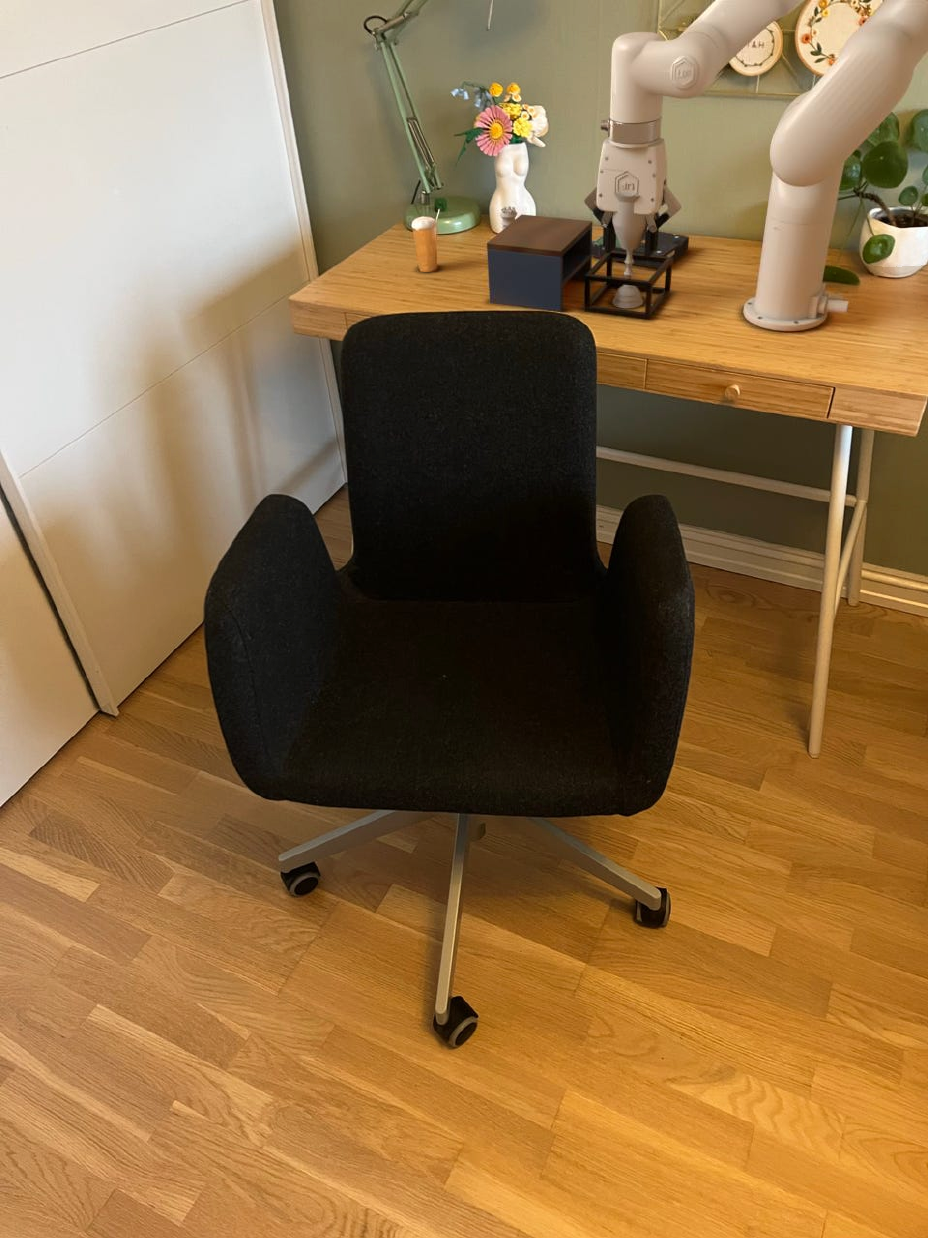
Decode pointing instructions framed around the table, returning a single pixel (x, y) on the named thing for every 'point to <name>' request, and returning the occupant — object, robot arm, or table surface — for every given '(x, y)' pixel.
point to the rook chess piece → (507, 216)
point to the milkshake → (426, 242)
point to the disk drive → (666, 247)
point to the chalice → (628, 246)
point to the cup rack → (618, 282)
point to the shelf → (538, 260)
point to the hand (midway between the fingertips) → (629, 251)
